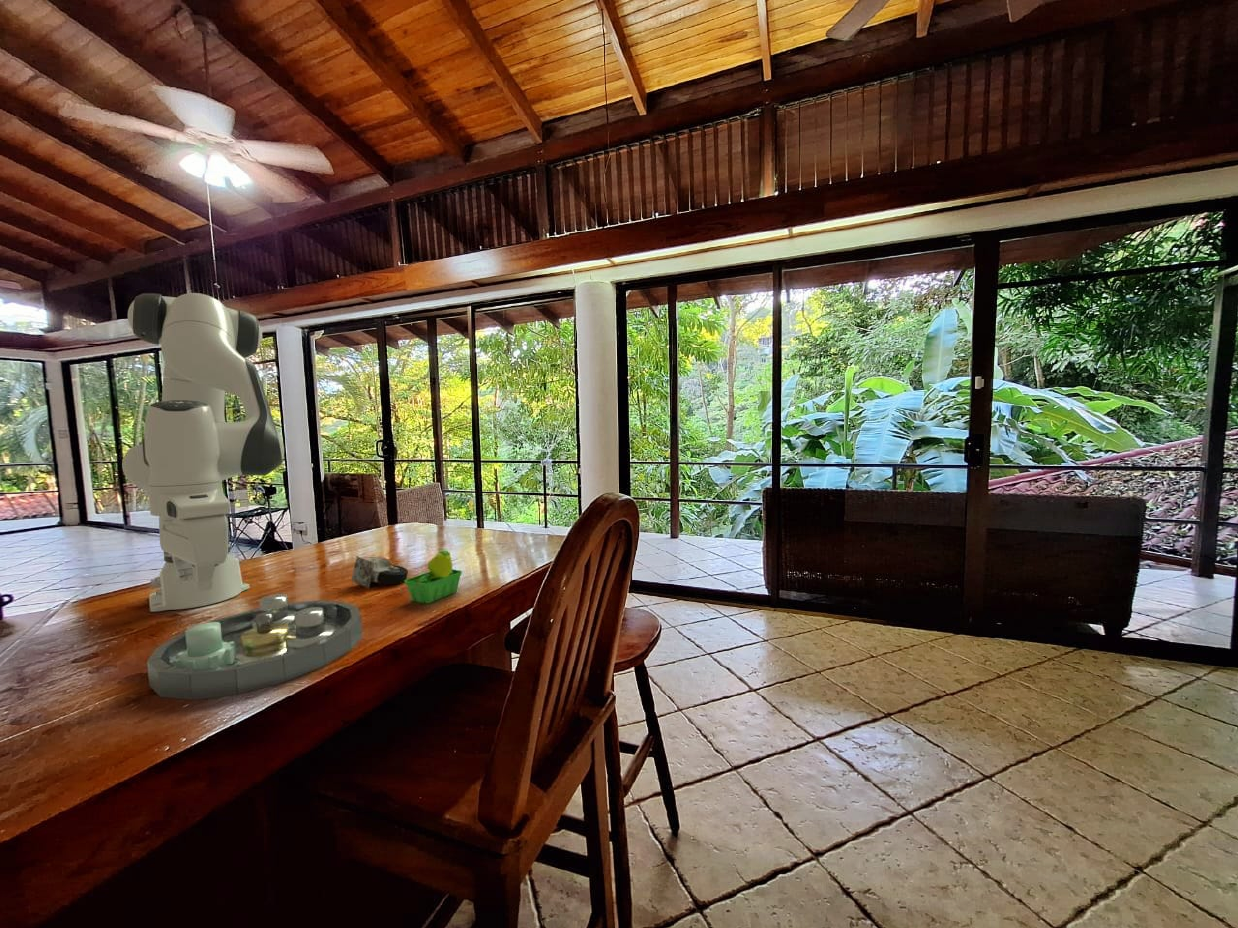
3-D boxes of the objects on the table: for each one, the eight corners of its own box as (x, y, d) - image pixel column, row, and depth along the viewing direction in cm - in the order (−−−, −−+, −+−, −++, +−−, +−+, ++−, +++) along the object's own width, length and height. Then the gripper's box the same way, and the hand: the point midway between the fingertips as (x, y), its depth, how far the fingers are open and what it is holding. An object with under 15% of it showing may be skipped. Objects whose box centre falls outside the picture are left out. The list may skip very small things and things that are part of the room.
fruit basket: (441, 586, 121) (439, 542, 120) (468, 591, 117) (466, 545, 116) (403, 602, 111) (400, 554, 110) (431, 607, 107) (428, 557, 106)
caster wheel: (411, 588, 128) (379, 595, 119) (382, 575, 133) (349, 581, 123) (416, 564, 128) (385, 569, 119) (387, 552, 132) (354, 556, 123)
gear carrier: (129, 666, 83) (124, 624, 82) (316, 609, 108) (314, 576, 107) (186, 721, 66) (181, 669, 65) (392, 638, 91) (389, 600, 90)
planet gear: (168, 669, 79) (164, 631, 78) (226, 650, 85) (223, 614, 84) (184, 682, 74) (180, 641, 74) (243, 661, 81) (240, 623, 80)
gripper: (143, 498, 81) (150, 578, 82) (181, 509, 69) (188, 602, 70) (192, 494, 86) (198, 569, 87) (234, 503, 74) (241, 590, 75)
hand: (194, 584), depth 78 cm, fingers open, 8 cm apart
